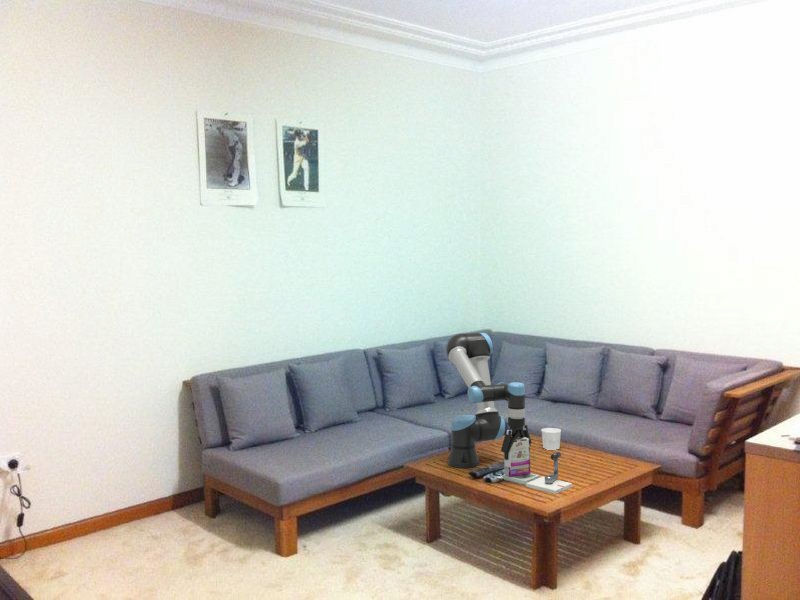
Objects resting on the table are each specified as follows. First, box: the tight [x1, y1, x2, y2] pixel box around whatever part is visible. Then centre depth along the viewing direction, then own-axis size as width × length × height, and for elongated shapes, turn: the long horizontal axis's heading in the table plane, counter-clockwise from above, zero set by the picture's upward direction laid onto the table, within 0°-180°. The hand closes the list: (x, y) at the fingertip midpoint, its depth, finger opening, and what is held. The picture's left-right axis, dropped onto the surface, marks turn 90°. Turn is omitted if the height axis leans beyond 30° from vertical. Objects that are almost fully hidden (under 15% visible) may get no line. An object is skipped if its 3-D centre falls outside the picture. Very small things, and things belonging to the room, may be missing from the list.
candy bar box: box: [503, 437, 531, 477], centre depth 328 cm, size 11×5×16 cm, turn 111°
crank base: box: [525, 476, 573, 495], centre depth 317 cm, size 15×13×2 cm
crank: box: [544, 451, 562, 484], centre depth 319 cm, size 11×4×11 cm, turn 142°
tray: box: [498, 472, 541, 487], centre depth 328 cm, size 17×11×2 cm, turn 45°
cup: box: [540, 427, 562, 451], centre depth 377 cm, size 10×10×10 cm
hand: (516, 463), depth 328 cm, fingers open, 13 cm apart
